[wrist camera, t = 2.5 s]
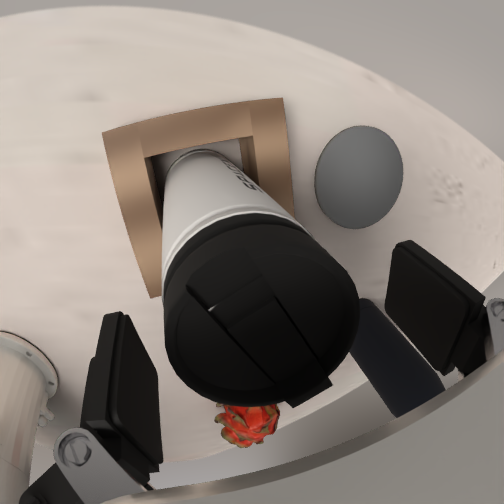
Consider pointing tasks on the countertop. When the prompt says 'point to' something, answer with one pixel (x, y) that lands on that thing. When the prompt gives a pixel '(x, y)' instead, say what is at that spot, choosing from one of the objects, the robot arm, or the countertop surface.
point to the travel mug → (248, 290)
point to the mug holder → (183, 136)
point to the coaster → (358, 177)
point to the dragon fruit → (247, 423)
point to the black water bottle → (392, 363)
